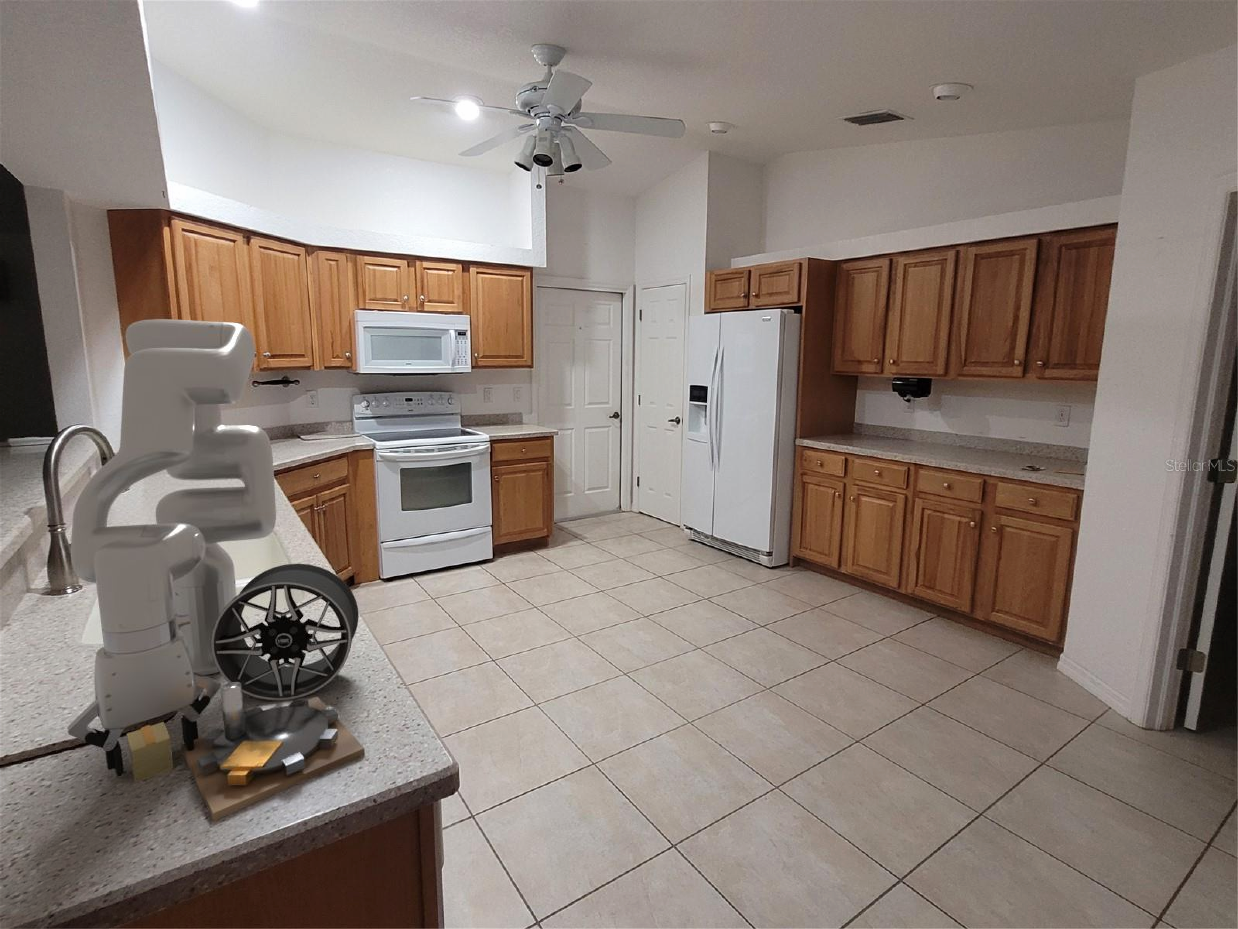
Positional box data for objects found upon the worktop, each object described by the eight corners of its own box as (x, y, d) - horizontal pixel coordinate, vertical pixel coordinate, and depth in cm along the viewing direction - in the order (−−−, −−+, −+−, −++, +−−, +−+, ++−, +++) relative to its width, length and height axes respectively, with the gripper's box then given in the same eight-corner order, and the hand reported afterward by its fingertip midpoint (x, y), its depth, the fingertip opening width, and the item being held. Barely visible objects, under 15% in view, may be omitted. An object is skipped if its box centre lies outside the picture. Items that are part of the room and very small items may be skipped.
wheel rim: (216, 707, 95) (205, 586, 91) (235, 678, 103) (226, 566, 100) (353, 692, 100) (348, 577, 97) (361, 666, 109) (356, 559, 105)
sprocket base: (181, 750, 84) (180, 742, 84) (317, 702, 97) (317, 694, 97) (213, 821, 72) (212, 811, 72) (364, 754, 84) (364, 746, 84)
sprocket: (167, 785, 75) (160, 723, 74) (244, 708, 92) (240, 656, 91) (306, 784, 76) (302, 723, 75) (357, 708, 93) (355, 657, 91)
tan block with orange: (130, 764, 81) (126, 732, 81) (166, 751, 84) (163, 720, 83) (135, 782, 78) (131, 749, 77) (173, 769, 81) (169, 737, 80)
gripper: (212, 607, 87) (222, 720, 90) (47, 645, 74) (65, 775, 77) (226, 623, 82) (237, 742, 85) (52, 667, 69) (71, 805, 72)
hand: (154, 757), depth 81 cm, fingers open, 7 cm apart
